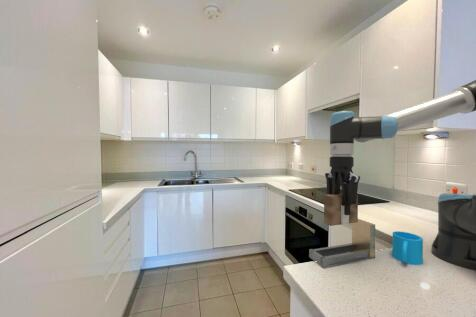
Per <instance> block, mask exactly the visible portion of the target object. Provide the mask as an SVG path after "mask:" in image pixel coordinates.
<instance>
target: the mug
mask: <svg viewBox="0 0 476 317" xmlns="http://www.w3.org/2000/svg"><path fill="white" fill-rule="evenodd" d="M391 241H392V242H391V243H392V244H391V245H392V247H391V248H392V251H391V252H392V254H391V255H392V256H391V257H393V258H394V259H395V260H397V261H399V262H402V263H404V264H409V265H414V266H420V265H423V261H424V258H423V257H424V253H423V252H424V249H423V248H424V239H423V237H421V236H420V235H418V234H414V233H411V232H406V231H393V232H392V240H391Z"/></svg>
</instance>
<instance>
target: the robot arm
mask: <svg viewBox="0 0 476 317" xmlns="http://www.w3.org/2000/svg"><path fill="white" fill-rule="evenodd" d="M475 111H476V79H475V80H473V81H471V82H468V83H466V84H463V85H461V86H458V87H455V88H453V89H452V90H451V92H450V93H446V94H444V95H441V96H437V97H435V98H431V99H429V100H426V101H423V102H420V103H417V104H414V105H410V106H408V107H406V108H405V107H404V108H402V109H399V110H396V111H394V112H390V113H387V114H383V115H376V116H362V117H361V116H356V115H355V112H354V111H351V110H342V111H336V112H333V113H332V114H331V115H330V119H329V120H330V121H329V123H330V124H329V155H330V157H329V167H331V169H330V172H326V173H325V174H324V176H325V180H326V195H329V194H342V197H343V204H342V205H341V224H342V225H350V223H349V215H350V207H351V205H356V201H357V194H358V188H359V182H360V180H361V176H360V175H356V174H354V171H353V167H354V164H355V163H354V160H355V158H354V153H355V147H354V146H355V142H358V143H366V142H369V141H373V140H377V139H378V140H379V139H381V140H384V139H385V140H386V139H392V138H394V137H395V136H396V135H397V133H398V132H401V131H404V130H407V129H410V128H413V127H417V126H420V125H424V124H426V123H427V124H428V123H430V122H433V121H436V120H439V119H443V118H446V117H449V116H452V115H456V114H463V115H465V114H470V113H472V112H475ZM437 207H438V209H437V210H438V212H437V214H438V217H437V218H438V222H437V223H438V224H437V225H438V226H437V227H438V228H437V229H438V231H437V234H436V236H435V238H434V240H433V241H432V242H433V243H432V244H431V253H432V254H433V255H434V256H436V257H437V258H439V259H441V260H442V261H446V262H448V263H450V264H454V265H457V266H460V267H463V268H468V269H472V270H476V192H474V193H472V194H465V193H464V194H463V193H462V194H461V193H440V195H438V200H437Z"/></svg>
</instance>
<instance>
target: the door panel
mask: <svg viewBox="0 0 476 317" xmlns="http://www.w3.org/2000/svg"><path fill="white" fill-rule="evenodd" d="M323 197H324V199H323V201H324V202H323V223H324V224H326V225H327V226H330V227H332V226H339V225H343V224H341V205H342V204H343V197H342V193H340V194H329V195H327V194H324V196H323ZM358 208H359V194H358V193H357V201H356V205H351V207H350V215H349V224H352V223H357V222H358V219H359V216H358V214H359V209H358Z"/></svg>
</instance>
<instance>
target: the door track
mask: <svg viewBox="0 0 476 317" xmlns="http://www.w3.org/2000/svg"><path fill="white" fill-rule="evenodd" d="M351 225H352V226H351V243H344V244H339V245H331V246H326V247H320V248H314V249H313V248H310V249H309V251H308V252H309V253H308V256H309V257H308V258H310V259H311V260H312V261H314V262H315V261H317V262H315V263H317V264H318V265H319V266H320V267H321V268H322V269H328V268H333V267H339V266H342V265H348V264H353V263H358V262H363V261H369V260H373V259H376V223H372V222H370V221H367V220H363V219H361V218H358V222H357V223H351Z"/></svg>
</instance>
